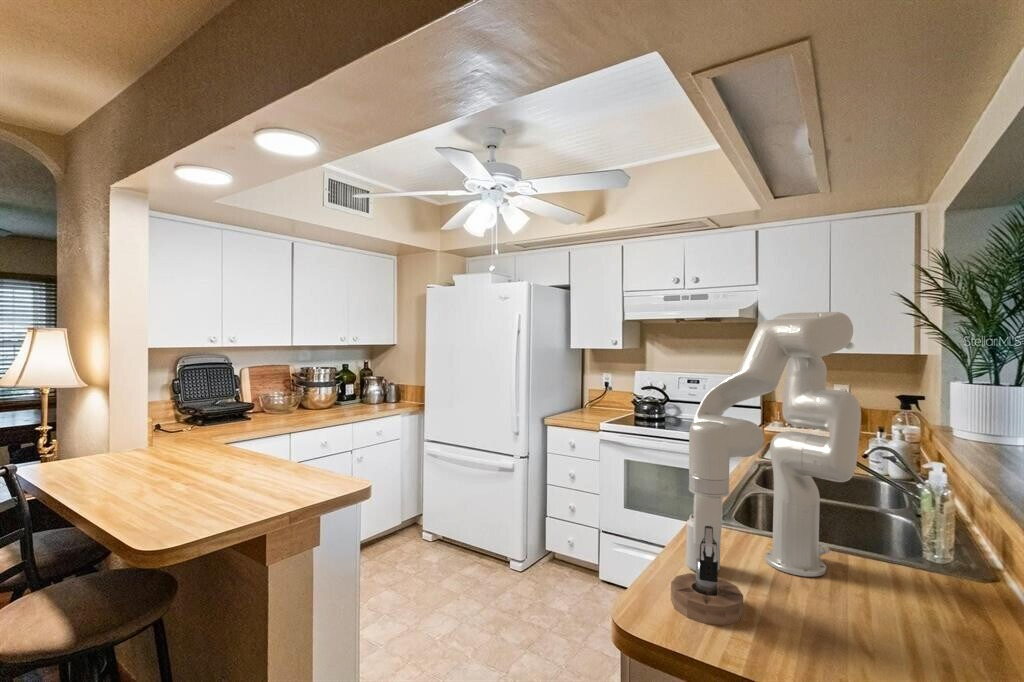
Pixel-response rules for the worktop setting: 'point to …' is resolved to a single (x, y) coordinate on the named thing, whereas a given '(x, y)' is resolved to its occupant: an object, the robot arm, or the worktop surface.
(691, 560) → the can
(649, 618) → the worktop surface
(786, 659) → the worktop surface
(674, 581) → the bead
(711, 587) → the peg
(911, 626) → the worktop surface
